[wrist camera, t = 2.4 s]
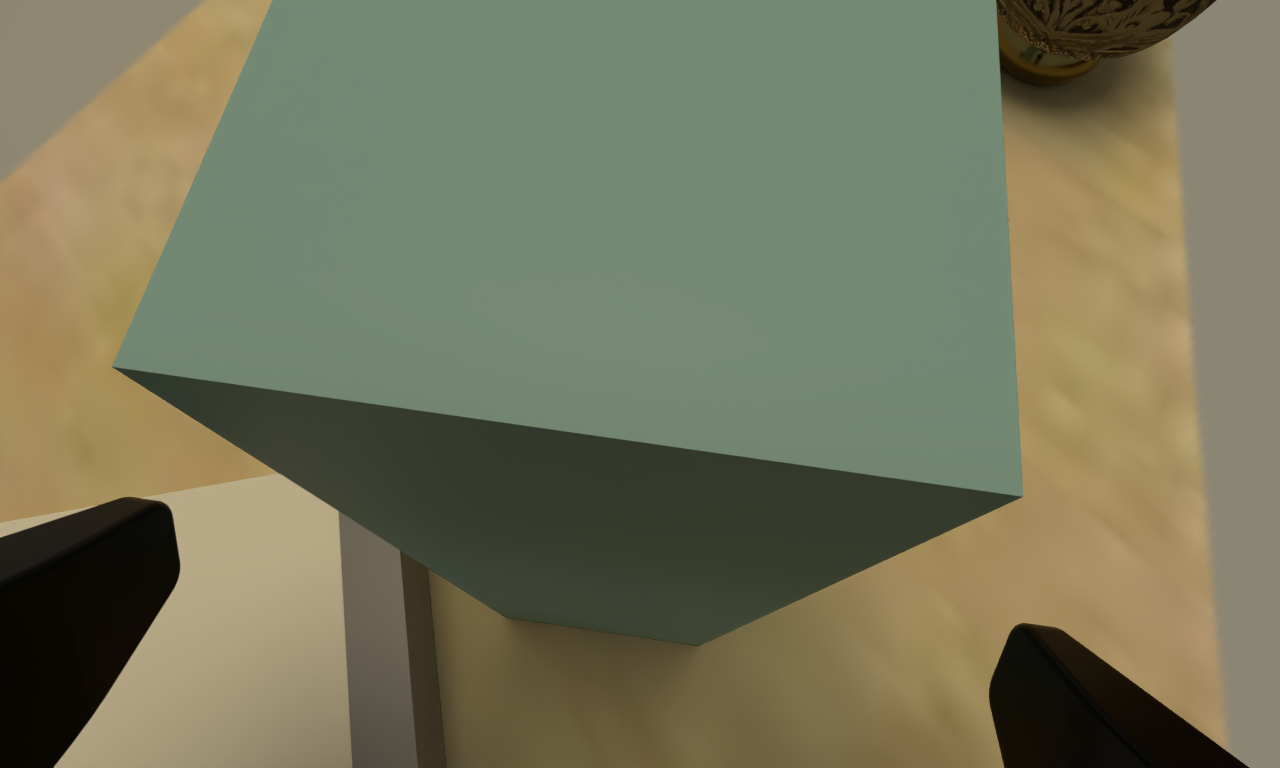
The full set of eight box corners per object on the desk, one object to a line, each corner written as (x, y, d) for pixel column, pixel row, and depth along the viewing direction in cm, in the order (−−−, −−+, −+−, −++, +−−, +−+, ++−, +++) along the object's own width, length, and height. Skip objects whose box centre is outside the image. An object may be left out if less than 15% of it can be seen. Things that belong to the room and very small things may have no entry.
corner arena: (464, 963, 15) (438, 1014, 13) (-64, 1094, 14) (-196, 1175, 12) (416, 452, 19) (389, 420, 17) (-1, 527, 18) (-91, 503, 16)
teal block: (698, 645, 18) (1023, 497, 4) (504, 617, 18) (111, 366, 4) (718, 451, 19) (987, -143, 6) (542, 426, 20) (369, -221, 6)
